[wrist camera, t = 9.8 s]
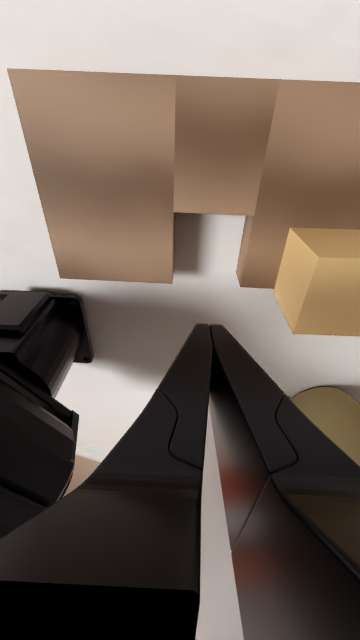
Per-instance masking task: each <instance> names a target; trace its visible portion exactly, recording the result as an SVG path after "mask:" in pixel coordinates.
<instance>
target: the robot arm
mask: <svg viewBox="0 0 360 640" xmlns="http://www.w3.org/2000/svg"><path fill="white" fill-rule="evenodd" d="M0 299H1V300H0V640H195V637H196V630H197V622H198V614H199V607H200V574H201V501H202V483H203V469H204V457H205V444H206V432H207V419H208V407H210V414H211V421H212V428H213V434H214V441H215V448H216V455H217V461H218V468H219V475H220V482H221V488H222V495H223V502H224V509H225V515H226V522H227V529H228V536H229V542H230V549H231V551H232V552H231V556H232V563H233V570H234V577H235V583H236V590H237V597H238V603H239V610H240V617H241V624H242V630H243V637H244V640H360V466H359V465H358V464H357V463H356V462H355V461H354V460H353V459H351V458H350V457H349V456H348V455H347V454H346V453H345V452H344V451H343V450H342V449H341V448H339V447H338V446H337V445H336V444H335V443H334V442H333V441H332V440H331V439H330V438H328V437H327V436H326V435H325V434H324V433H323V432H322V431H321V430H320V429H319V428H318V427H317V426H316V425H315V424H314V423H313V422H312V421H311V420H310V419H309V418H308V417H307V416H306V415H305V414H304V413H303V412H302V411H301V410H300V409H299V408H298V407H297V406H296V405H295V404H294V403H293V402H292V401H291V399H290V398H289V397H288V396H287V395H284V392H283V391H282V390H281V389H280V388H279V386H278V385H277V384H276V383H275V382H274V381H273V380H272V379H271V378H270V377H269V376H268V374H267V373H266V372H265V371H264V370H263V369H262V368H261V367H260V366H259V365H258V363H257V362H256V361H255V360H254V359H253V358H252V357H251V356H250V355H249V354H248V353H247V351H246V350H245V349H244V348H243V347H242V346H241V345H240V344H239V343H238V342H237V340H236V339H235V338H234V337H233V336H232V335H231V334H230V333H229V332H228V331H227V330H226V328H225V327H224V326H223V325H221V324H210V325H208V324H202V323H197V324H196V325H195V327H194V328H193V330H192V332H191V333H190V335H189V337H188V338H187V340H186V342H185V343H184V345H183V347H182V348H181V350H180V352H179V353H178V355H177V356H176V358H175V360H174V361H173V363H172V365H171V366H170V368H169V370H168V371H167V373H166V375H165V376H164V378H163V380H162V381H161V383H160V385H159V386H158V388H157V389H156V391H155V393H154V394H153V396H152V398H151V399H150V401H149V402H148V404H147V405H146V407H145V408H144V410H143V411H142V413H141V414H140V415H139V417H138V418H137V419H136V420H135V422H134V423H133V424H132V426H131V427H130V428H129V429H128V431H127V432H126V433H125V434H124V436H123V437H122V438H121V439H120V440H119V442H118V443H117V444H116V445H115V447H114V448H113V449H112V450H111V451H110V453H109V454H108V455H107V456H106V458H105V459H104V460H103V461H102V462H101V464H100V465H99V466H98V467H97V468H96V470H95V471H94V472H93V473H92V474H91V475H90V477H88V478H87V479H86V480H85V481H84V482H83V483H82V484H81V485H80V486H78V487H77V488H76V489H75V490H73V491H72V492H71V493H69V494H67V495H66V496H64V497H63V495H64V494H65V492H66V490H67V488H68V486H69V483H70V481H71V478H72V474H73V470H74V461H75V451H76V441H77V431H78V422H79V415H78V414H77V413H76V412H74V411H73V410H72V411H71V410H69V409H68V408H66V407H65V406H64V405H62V404H61V403H60V402H58V401H57V400H56V399H55V397H56V395H57V393H58V391H59V389H60V387H61V385H62V383H63V381H64V379H65V377H66V375H67V373H68V371H69V369H70V367H71V365H72V363H73V362H76V363H91V362H92V360H93V358H94V354H93V349H92V345H91V340H90V335H89V331H88V326H87V321H86V317H85V312H84V307H83V302H82V299H81V298H80V297H79V296H77V295H69V294H50V293H47V292H34V291H12V292H8V291H0ZM72 301H75V302H76V303H77V304H76V303H73V302H72ZM87 357H88V358H87ZM62 497H63V498H62Z"/></svg>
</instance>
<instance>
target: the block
mask: <svg viewBox="0 0 360 640" xmlns="http://www.w3.org/2000/svg"><path fill="white" fill-rule="evenodd" d="M273 294H274V296H275V298H276V300H277V302H278V304H279V306H280V308H281V310H282V312H283V314H284V316H285V319H286V321H287V323H288V325H289V327H290V329H291V331H292V333H293V334H313V335H341V336H360V230H356V229H320V228H290V229H289V233H288V237H287V241H286V245H285V249H284V253H283V257H282V261H281V264H280V268H279V272H278V276H277V280H276V284H275V288H274V292H273Z"/></svg>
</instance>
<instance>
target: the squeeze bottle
mask: <svg viewBox="0 0 360 640" xmlns="http://www.w3.org/2000/svg"><path fill="white" fill-rule="evenodd" d="M291 401H292V402H293V403H294V404H295V405H296V406H297V407H298V408H299V409H300V410H301V411H302V412H303V413H304V414H305V415H306V416H307V417H308V418H309V419H310V420H311V421H312V422H313V423H314V424H315V425H316V426H317V427H318V428H319V429H320V430H321V431H322V432H323V433H324V434H325V435H326V436H327V437H328V438H330V439H331V440H332V441H333V442H334V443H335V444H336V445H337V446H338V447H339V448H341V449H342V450H343V451H344V452H345V453H346V454H347V455H348V456H349V457H350V458H351V459H353V460H354V461H355V462H356V463H357V464H358V465H359V466H360V404H359V403H358V402H357V401H356V400H355V399H354V398H352V397H351V396H350V395H349V394H348V393H346V392H344V391H342V390H341V389H339V388H333V387H319V388H312V389H309V390H306V391H304V392H301V393H299V394H298V395H296V396H295V397H294V398H292V399H291Z"/></svg>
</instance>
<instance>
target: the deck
mask: <svg viewBox="0 0 360 640" xmlns="http://www.w3.org/2000/svg"><path fill="white" fill-rule="evenodd" d="M7 71H8V75H9V79H10V83H11V86H12V90H13V94H14V98H15V102H16V106H17V110H18V114H19V118H20V122H21V126H22V130H23V134H24V138H25V141H26V145H27V149H28V153H29V157H30V161H31V165H32V169H33V173H34V177H35V181H36V185H37V189H38V193H39V196H40V200H41V204H42V208H43V212H44V216H45V220H46V224H47V228H48V232H49V236H50V240H51V244H52V248H53V251H54V255H55V259H56V263H57V267H58V271H59V275H60V278H65V279H85V280H106V281H127V282H147V283H168V284H172V280H173V272H174V241H175V212H181V213H203V214H225V215H246V219H245V224H244V230H243V236H242V242H241V248H240V253H239V259H238V265H237V271H236V274H237V277H238V280H239V284H240V287H250V288H271V289H274V288H275V284H276V280H277V276H278V272H279V268H280V264H281V261H282V257H283V253H284V249H285V245H286V241H287V237H288V233H289V229H290V228H320V229H356V230H360V83H356V82H331V81H306V80H281V79H256V78H231V77H206V76H181V75H157V74H132V73H107V72H82V71H57V70H32V69H7Z"/></svg>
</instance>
